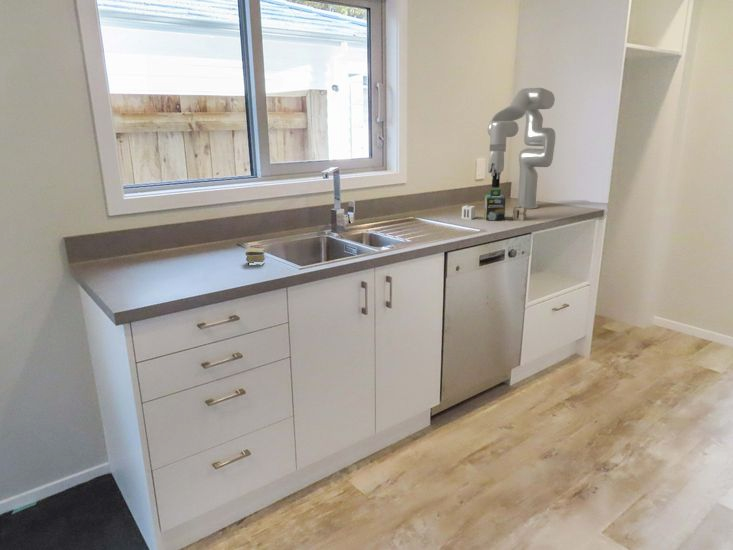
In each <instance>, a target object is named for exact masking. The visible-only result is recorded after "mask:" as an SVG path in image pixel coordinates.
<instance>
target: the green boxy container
mask: <svg viewBox="0 0 733 550" xmlns="http://www.w3.org/2000/svg"><path fill="white" fill-rule="evenodd" d="M495 192H497V193H495ZM501 193H502V191H501V189H500V188H499V189H498V188H495V189H494V188H493V189H490V194H485V195H484V211H483V213H484V217H483V218H484V219H485V221H496V222H497V221H498V222H499V221H503V222H504V221H505V220H506V219H505V217H506V199H507V197H506V196H505V195H504V194H501Z"/></svg>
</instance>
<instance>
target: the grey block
mask: <svg viewBox="0 0 733 550" xmlns="http://www.w3.org/2000/svg"><path fill="white" fill-rule="evenodd" d="M475 215H476V206H475V205H463V206H461V219H462V220H474V219H476V218H475V217H476V216H475ZM473 218H474V219H473Z"/></svg>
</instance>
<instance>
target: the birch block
mask: <svg viewBox="0 0 733 550" xmlns="http://www.w3.org/2000/svg"><path fill="white" fill-rule="evenodd" d="M527 210H528V209H527V207H522V206H516V207H515V206H514V207H513V210H512V220H513V221H522V222H523V221H525V220H526V219H527Z"/></svg>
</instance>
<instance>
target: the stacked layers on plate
mask: <svg viewBox="0 0 733 550" xmlns="http://www.w3.org/2000/svg"><path fill="white" fill-rule="evenodd" d="M244 250H245V256H246V258H245V261H246V262H247V264H248V263H254V262H263V261H264V260H266V257H265V253H266V252H265V251H264V250H265V248H261V247H248V248H245V249H244Z"/></svg>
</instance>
